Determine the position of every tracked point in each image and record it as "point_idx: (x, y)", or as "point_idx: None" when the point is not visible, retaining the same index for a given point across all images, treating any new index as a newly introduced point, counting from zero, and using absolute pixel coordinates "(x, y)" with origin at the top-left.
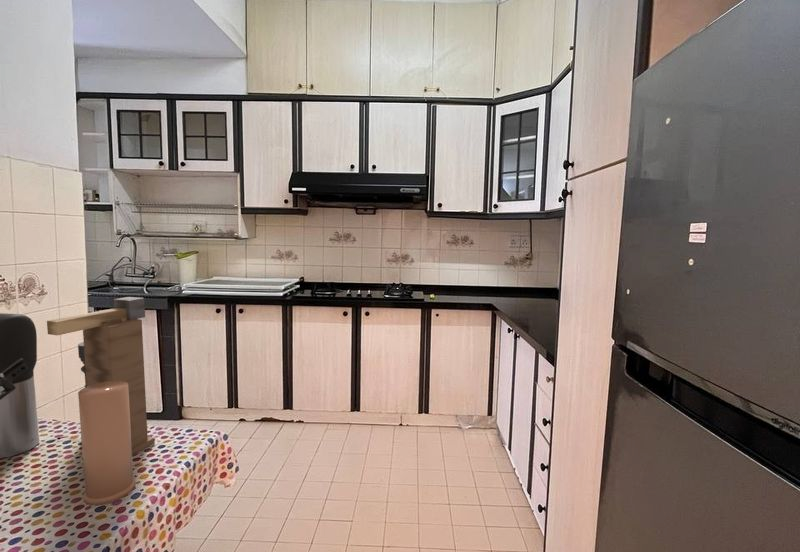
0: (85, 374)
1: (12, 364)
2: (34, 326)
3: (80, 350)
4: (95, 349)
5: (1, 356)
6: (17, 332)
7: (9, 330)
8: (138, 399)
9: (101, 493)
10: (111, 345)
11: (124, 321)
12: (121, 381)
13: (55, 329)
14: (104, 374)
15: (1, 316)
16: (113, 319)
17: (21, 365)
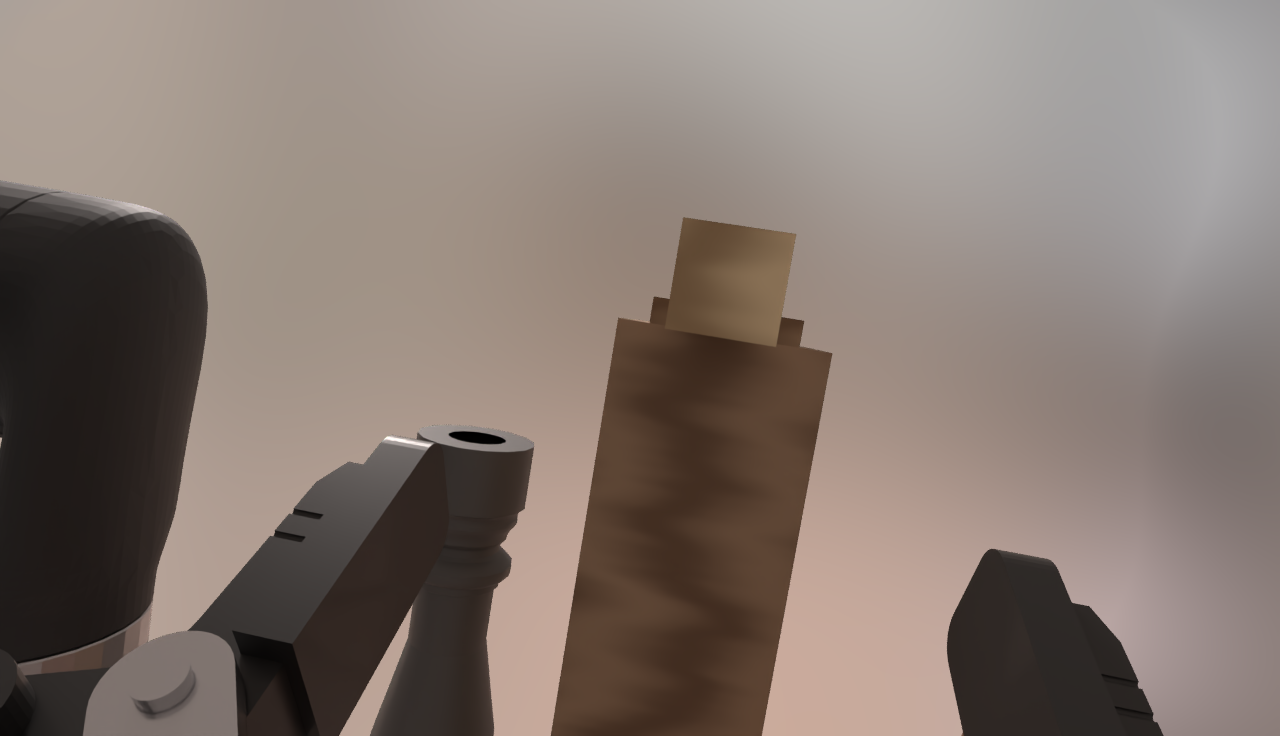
0: (432, 597)
1: (1039, 643)
2: (207, 307)
3: (448, 470)
4: (682, 479)
5: (52, 463)
6: (158, 318)
7: (126, 294)
8: None
9: None
10: (811, 465)
11: None
12: None
13: (764, 296)
14: (717, 632)
15: (67, 197)
16: None
17: (1129, 663)
